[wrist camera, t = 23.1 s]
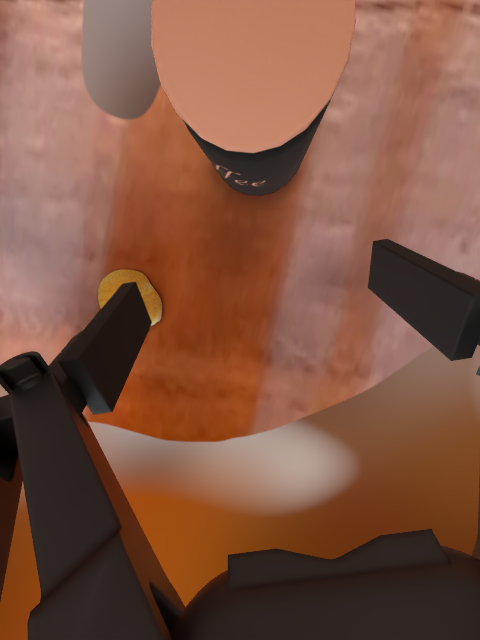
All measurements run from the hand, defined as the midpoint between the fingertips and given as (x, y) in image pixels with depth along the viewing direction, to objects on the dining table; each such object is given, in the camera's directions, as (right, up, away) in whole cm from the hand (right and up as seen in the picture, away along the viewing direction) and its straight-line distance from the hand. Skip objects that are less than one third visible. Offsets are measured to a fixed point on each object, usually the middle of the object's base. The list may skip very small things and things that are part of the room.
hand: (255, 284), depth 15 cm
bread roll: (-16, +1, +23) cm, 28 cm away
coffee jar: (+1, +18, +16) cm, 24 cm away
